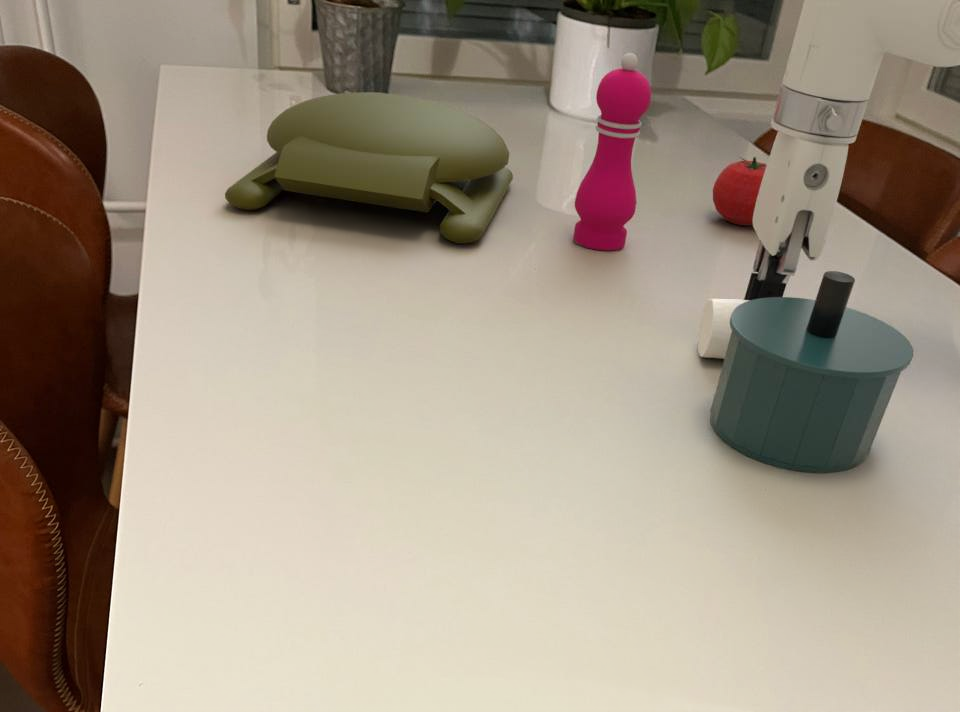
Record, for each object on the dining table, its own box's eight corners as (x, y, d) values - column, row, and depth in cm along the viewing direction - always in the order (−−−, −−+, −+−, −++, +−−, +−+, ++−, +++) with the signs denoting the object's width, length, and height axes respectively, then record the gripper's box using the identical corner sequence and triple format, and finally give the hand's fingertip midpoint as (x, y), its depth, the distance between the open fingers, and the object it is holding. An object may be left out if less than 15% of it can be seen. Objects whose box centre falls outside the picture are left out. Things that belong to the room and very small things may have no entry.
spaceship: (478, 251, 112) (486, 159, 106) (218, 210, 114) (212, 118, 108) (520, 171, 139) (529, 94, 133) (309, 140, 141) (308, 62, 135)
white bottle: (825, 380, 94) (845, 324, 90) (701, 367, 94) (716, 309, 90) (812, 354, 99) (830, 299, 95) (694, 341, 98) (708, 285, 95)
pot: (843, 402, 91) (876, 313, 85) (888, 479, 80) (928, 383, 75) (698, 389, 90) (722, 297, 85) (725, 464, 80) (753, 366, 74)
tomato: (700, 224, 128) (716, 158, 123) (712, 206, 135) (727, 143, 130) (767, 238, 126) (786, 171, 121) (776, 219, 133) (794, 156, 128)
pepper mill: (619, 233, 122) (652, 48, 109) (635, 253, 117) (673, 62, 104) (563, 230, 121) (590, 43, 108) (577, 251, 116) (607, 57, 103)
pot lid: (877, 318, 86) (901, 253, 82) (934, 394, 75) (964, 323, 71) (713, 302, 85) (730, 235, 82) (746, 376, 74) (767, 303, 71)
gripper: (884, 141, 81) (811, 353, 93) (838, 101, 92) (778, 293, 104) (794, 130, 80) (733, 344, 92) (759, 90, 92) (709, 285, 104)
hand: (757, 316), depth 98 cm, fingers closed
